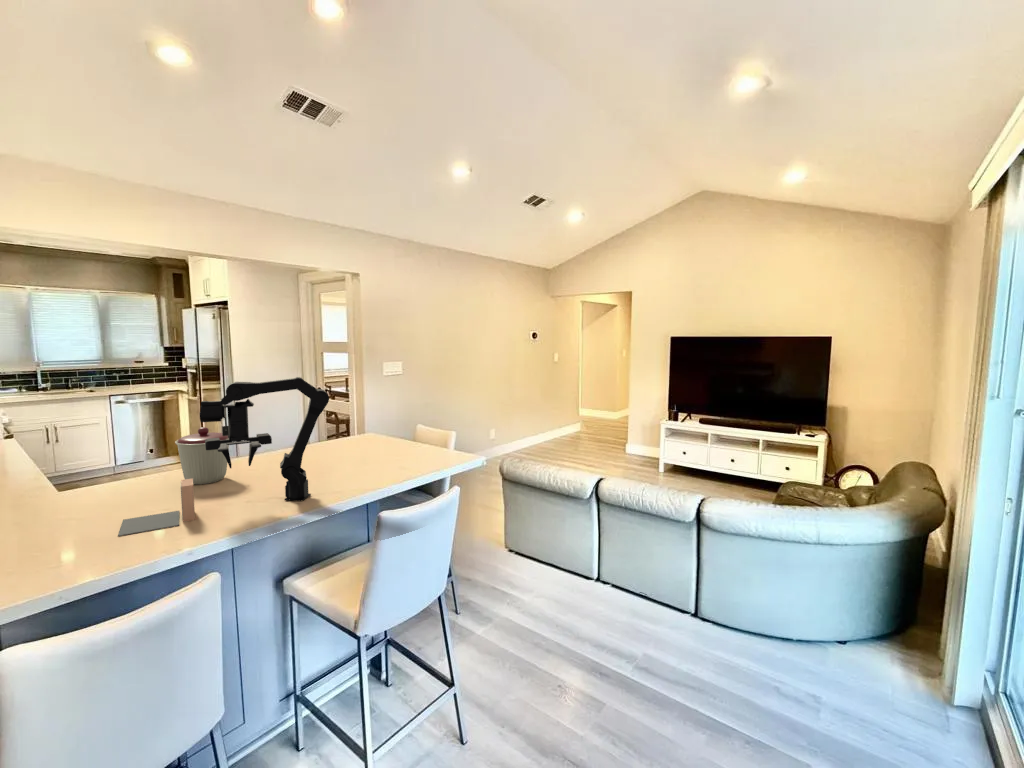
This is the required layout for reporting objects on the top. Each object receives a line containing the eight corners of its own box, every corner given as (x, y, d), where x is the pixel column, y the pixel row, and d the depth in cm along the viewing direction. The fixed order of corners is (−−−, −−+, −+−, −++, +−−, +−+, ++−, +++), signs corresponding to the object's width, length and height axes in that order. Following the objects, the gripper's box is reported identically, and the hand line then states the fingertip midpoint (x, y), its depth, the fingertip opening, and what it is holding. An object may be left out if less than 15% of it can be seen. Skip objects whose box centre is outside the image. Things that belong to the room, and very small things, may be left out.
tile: (194, 511, 151) (192, 478, 150) (195, 519, 144) (193, 484, 143) (182, 513, 149) (180, 479, 148) (182, 522, 143) (180, 486, 141)
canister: (214, 471, 195) (212, 421, 193) (243, 477, 188) (240, 425, 186) (167, 483, 179) (163, 429, 177) (196, 490, 171) (192, 433, 169)
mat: (179, 511, 151) (179, 510, 151) (179, 525, 140) (178, 524, 140) (123, 520, 143) (123, 519, 143) (117, 536, 132) (117, 535, 132)
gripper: (266, 414, 166) (268, 458, 168) (203, 419, 156) (205, 465, 157) (271, 419, 157) (272, 465, 159) (204, 424, 147) (207, 473, 148)
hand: (240, 466), depth 156 cm, fingers open, 5 cm apart
